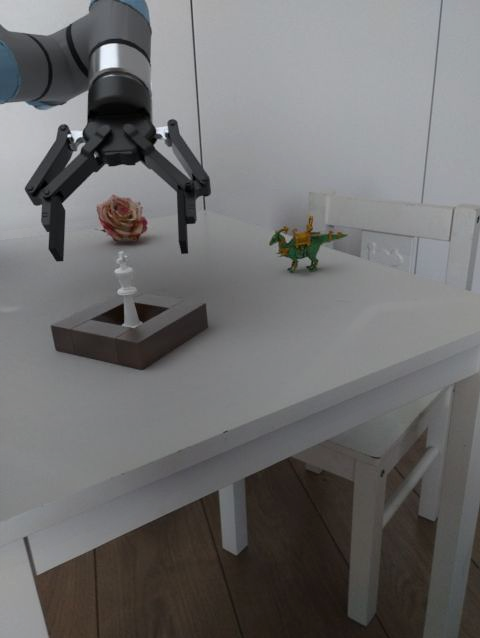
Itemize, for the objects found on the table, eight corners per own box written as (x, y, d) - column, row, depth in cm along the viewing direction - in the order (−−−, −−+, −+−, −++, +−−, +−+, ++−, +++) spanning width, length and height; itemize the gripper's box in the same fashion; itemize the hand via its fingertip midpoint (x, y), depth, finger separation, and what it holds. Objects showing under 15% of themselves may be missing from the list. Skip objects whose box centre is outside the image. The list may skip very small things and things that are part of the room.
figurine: (268, 270, 87) (266, 216, 83) (344, 263, 88) (345, 209, 85) (272, 276, 84) (270, 220, 80) (350, 268, 86) (351, 213, 82)
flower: (83, 233, 108) (87, 201, 102) (117, 213, 113) (123, 182, 107) (120, 264, 106) (127, 234, 100) (153, 243, 112) (161, 214, 106)
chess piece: (103, 344, 64) (87, 257, 60) (128, 327, 68) (115, 245, 64) (140, 349, 62) (127, 260, 58) (164, 331, 66) (153, 247, 62)
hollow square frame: (55, 350, 63) (49, 325, 62) (128, 312, 73) (124, 290, 71) (142, 370, 58) (138, 343, 56) (208, 326, 67) (206, 302, 66)
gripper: (225, 114, 73) (236, 261, 66) (26, 124, 71) (15, 275, 64) (222, 67, 66) (235, 225, 59) (2, 76, 64) (-14, 240, 57)
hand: (120, 251), depth 61 cm, fingers open, 13 cm apart
